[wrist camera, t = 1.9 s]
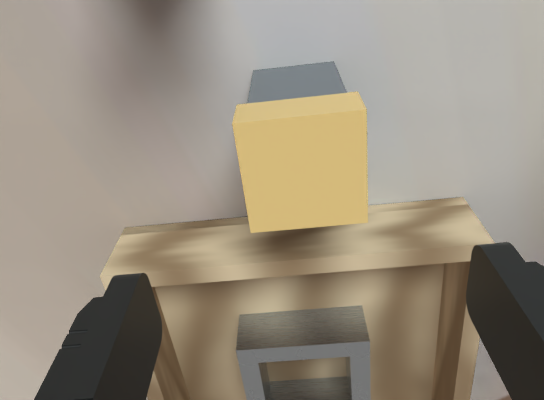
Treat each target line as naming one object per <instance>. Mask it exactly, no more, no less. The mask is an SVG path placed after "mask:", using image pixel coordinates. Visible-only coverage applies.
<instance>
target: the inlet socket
mask: <svg viewBox="0 0 544 400" xmlns="http://www.w3.org/2000/svg"><path fill="white" fill-rule="evenodd" d="M236 354H237V358H238V363H239V367H240V372H241V376H242V381H243V385H244V390H245V394H246V399H247V400H371V393H370V339H369V335H368V330H367V326H366V321H365V316H364V312H363V307H362V305H359V306H346V307H332V308H319V309H306V310H293V311H279V312H266V313H253V314H240V315H239V324H238V334H237V343H236ZM336 357H346V371H347V376H345V377H329V378H314V379H299V380H283V381H270V380H269V375H268V369H267V363H266V362H277V361H292V360H307V359H321V358H336Z"/></svg>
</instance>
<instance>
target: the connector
mask: <svg viewBox="0 0 544 400" xmlns="http://www.w3.org/2000/svg"><path fill="white" fill-rule="evenodd" d="M232 125H233V131H234V137H235V143H236V149H237V155H238V161H239V167H240V173H241V179H242V184H243V190H244V196H245V202H246V208H247V214H248V220H249V226H250V232H251V233H257V232H268V231H280V230H291V229H303V228H314V227H325V226H337V225H348V224H360V223H368V185H367V109H366V107H365V105H364V103H363V101H362V99H361V97H360V95H359V93H358V92H349V93H347V92H346V89H345V87H344V84H343V82H342V80H341V77H340V75H339V72H338V70H337V68H336V65H335V63H334V61H333V62H324V63H315V64H306V65H297V66H289V67H280V68H271V69H262V70H253V75H252V81H251V86H250V91H249V97H248V102H247V104H238V105H237V106H236V110H235V114H234V118H233V123H232Z"/></svg>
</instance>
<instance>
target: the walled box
mask: <svg viewBox="0 0 544 400" xmlns="http://www.w3.org/2000/svg"><path fill="white" fill-rule="evenodd" d="M493 243H494V241H493V240H492V238H491V237H490V235H489V234H488V232H487V231H486V230H485V228H484V227H483V225H482V224H481V222H480V221H479V219H478V218H477V217H476V215H475V214H474V212H473V211H472V209H471V208H470V206H469V205H468V203H467V202H466V201H465V199H464V198H463V197H459V198H448V199H437V200H426V201H415V202H404V203H393V204H381V205H370V206H368V223H360V224H348V225H337V226H325V227H314V228H303V229H291V230H280V231H268V232H257V233H251V232H250V226H249V220H248V217H238V218H227V219H216V220H205V221H194V222H183V223H172V224H161V225H150V226H139V227H128V228H125V229H124V231H123V233H122V234H121V236H120V238H119V240H118V242H117V244H116V246H115V248H114V250H113V252H112V254H111V256H110V258H109V260H108V261H107V263H106V265H105V267H104V269H103V271H102V273H101V275H100V278H101V280H102V283H103V285H104V288H105V291H106V289H107V287H108V285H109V283H110V281H111V279H112V277H113V276H115V275H124V274H135V273H145V274H147V276H148V278H149V281H150V284H151V287H152V290H153V293H154V297H155V300H156V303H157V306H158V309H159V312H160V316H161V320H162V341H161V345H160V349H159V352H158V356H157V360H156V364H155V367H154V371H153V375H152V378H151V382H150V386H149V389H148V393H147V397H148V400H247V399H246V394H245V390H244V385H243V381H242V376H241V372H240V367H239V363H238V358H237V354H236V343H237V334H238V324H239V315H240V314H253V313H266V312H279V311H293V310H306V309H319V308H332V307H346V306H359V305H362V307H363V312H364V316H365V321H366V326H367V330H368V335H369V339H370V393H371V400H470V395H471V389H472V383H473V377H474V371H475V364H476V358H477V352H478V346H479V339H480V336H479V334H478V332H477V330H476V328H475V326H474V325H473V323H472V321H471V318H470V316H469V313H468V309H467V304H466V290H467V282H468V275H469V268H470V261H471V253H472V249H473V247H474V246H475V245H481V244H493ZM266 363H267V369H268V375H269V380H270V381H283V380H299V379H314V378H329V377H345V376H347V371H346V357H336V358H321V359H307V360H292V361H277V362H266Z"/></svg>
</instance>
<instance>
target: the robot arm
mask: <svg viewBox="0 0 544 400" xmlns="http://www.w3.org/2000/svg"><path fill="white" fill-rule="evenodd" d="M466 304H467V309H468V313H469V316H470V318H471V321H472V323H473V325H474V326H475V328H476V330H477V332H478V334H479V336H480V338H481V340H482V342H483V344H484V346H485V348H486V350H487V352H488V354H489V356H490V358H491V360H492V362H493V363H494V365H495V367H496V369H497V371H498V373H499V375H500V377H501V379H502V381H503V383H504V385H505V387H506V389H507V391H508V393H509V395H510V397H511V399H512V400H544V267H543V266H542V265H540V264H539V263H537V262H525V261H524V260H523V258H522V257H521V256H520V254H519V253H518V252H517V250H516V249H515V248H514V246H513V245H512V244H510V243H508V242H504V243H493V244H481V245H475V246H474V247H473V249H472V253H471V261H470V268H469V275H468V282H467V290H466ZM161 341H162V320H161V316H160V312H159V309H158V306H157V303H156V300H155V297H154V293H153V290H152V287H151V284H150V281H149V278H148V276H147V274H145V273H135V274H124V275H115V276H113V277H112V279H111V281H110V283H109V285H108V287H107V289H106V292H105V294H104V296H103V297H96V298H93V299H92V300H91V301H90V302H89V303H88V304H87V305H86V306H85V307H84V308H83V309H82V310H81V311H80V312H79V313H78V314H77V316H76V318H75V320H74V322H73V324H72V326H71V328H70V330H69V334H67V336H66V338H65V340H64V342H63V344H62V349H60V350H59V352H58V354H57V356H56V357H55V359H54V361H53V363H52V365H51V367H50V369H49V371H48V373H47V375H46V377H45V379H44V381H43V383H42V385H41V387H40V389H39V391H38V393H37V395H36V397H35V399H34V400H146V397H147V393H148V389H149V386H150V382H151V378H152V375H153V371H154V367H155V364H156V360H157V356H158V352H159V349H160V345H161Z"/></svg>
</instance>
